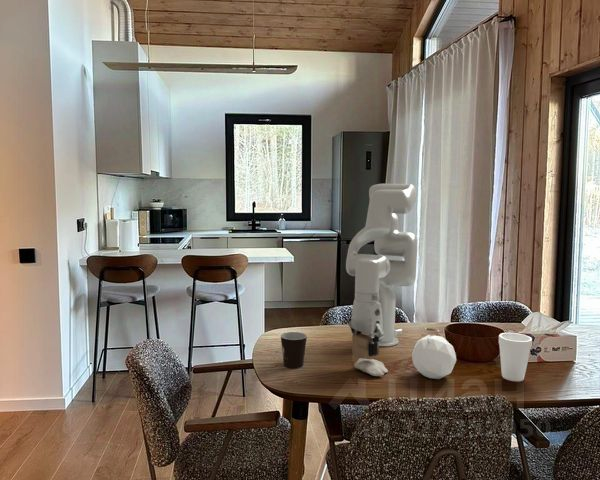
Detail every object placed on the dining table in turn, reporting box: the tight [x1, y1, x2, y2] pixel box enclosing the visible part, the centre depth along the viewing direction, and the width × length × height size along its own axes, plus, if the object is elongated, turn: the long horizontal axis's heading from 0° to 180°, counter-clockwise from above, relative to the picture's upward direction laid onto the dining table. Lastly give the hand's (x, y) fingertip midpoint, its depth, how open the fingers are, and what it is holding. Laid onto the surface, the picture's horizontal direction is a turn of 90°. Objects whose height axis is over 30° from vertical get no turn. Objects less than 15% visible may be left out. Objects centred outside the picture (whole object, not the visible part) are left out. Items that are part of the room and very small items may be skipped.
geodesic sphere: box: [411, 333, 457, 380], centre depth 155 cm, size 14×14×14 cm
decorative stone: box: [353, 357, 389, 377], centre depth 161 cm, size 11×4×15 cm
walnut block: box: [351, 332, 380, 359], centre depth 160 cm, size 6×6×6 cm
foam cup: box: [498, 332, 533, 382], centre depth 155 cm, size 10×9×13 cm
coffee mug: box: [280, 331, 308, 370], centre depth 166 cm, size 12×9×10 cm
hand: (365, 351), depth 160 cm, fingers closed on walnut block, 6 cm apart
